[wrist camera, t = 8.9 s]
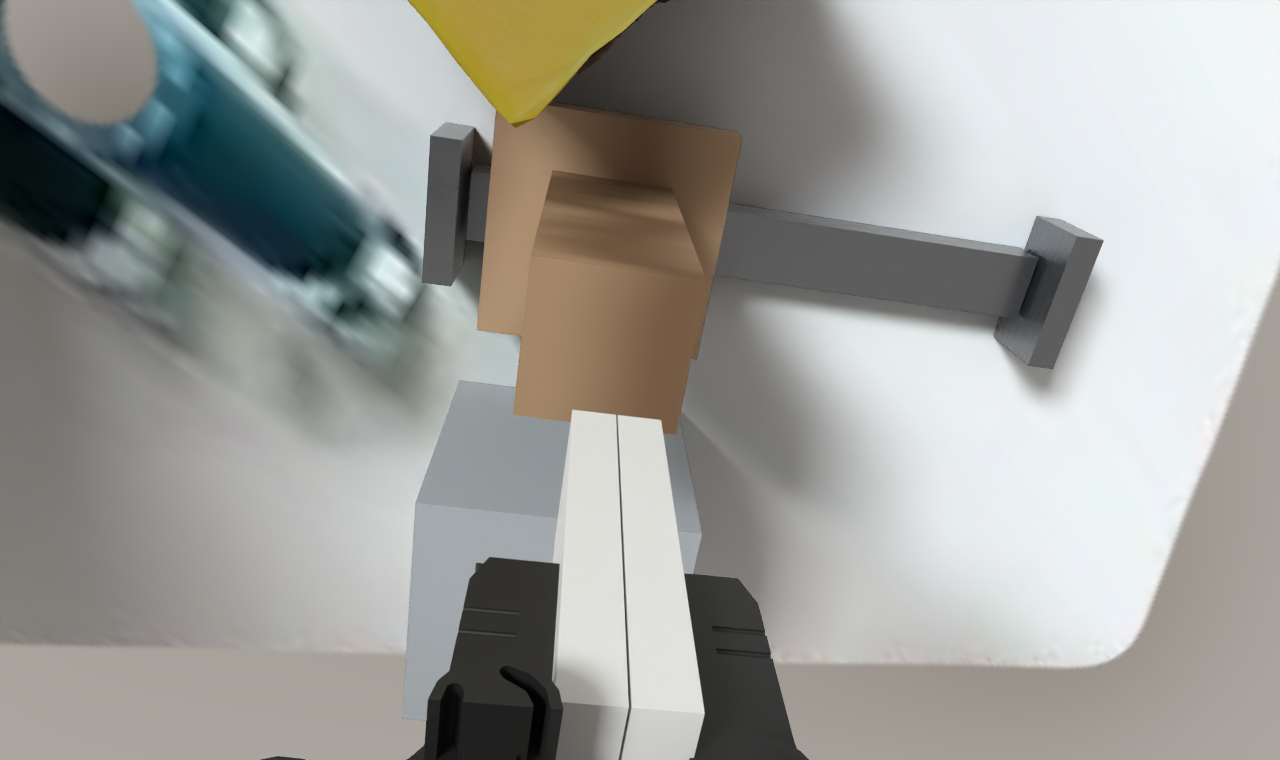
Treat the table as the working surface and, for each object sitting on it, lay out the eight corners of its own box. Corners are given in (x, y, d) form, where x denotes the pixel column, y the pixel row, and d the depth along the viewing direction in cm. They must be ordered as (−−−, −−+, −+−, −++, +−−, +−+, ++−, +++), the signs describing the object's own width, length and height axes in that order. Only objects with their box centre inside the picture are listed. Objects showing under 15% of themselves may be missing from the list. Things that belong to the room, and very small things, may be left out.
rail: (437, 257, 32) (422, 282, 29) (445, 122, 30) (430, 135, 27) (1016, 339, 34) (1052, 369, 32) (1061, 219, 32) (1103, 240, 30)
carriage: (486, 303, 33) (424, 476, 21) (505, 88, 29) (445, 150, 18) (689, 331, 33) (737, 511, 22) (730, 124, 30) (813, 207, 18)
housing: (444, 561, 38) (402, 719, 30) (459, 380, 34) (415, 503, 26) (643, 582, 39) (655, 739, 30) (677, 407, 35) (702, 534, 27)
